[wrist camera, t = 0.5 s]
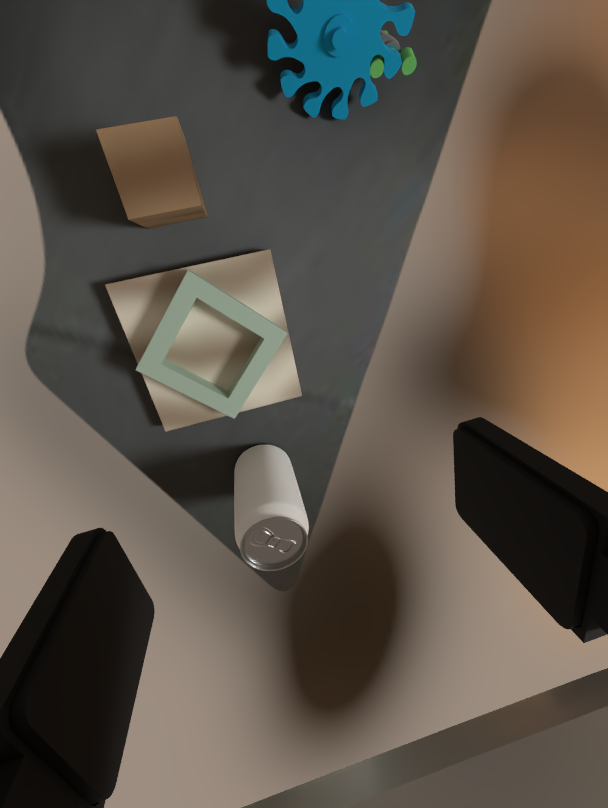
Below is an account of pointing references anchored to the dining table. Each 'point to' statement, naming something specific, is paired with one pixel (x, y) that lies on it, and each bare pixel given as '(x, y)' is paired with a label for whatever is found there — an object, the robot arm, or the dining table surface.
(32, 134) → the dining table surface
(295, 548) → the can
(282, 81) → the gear
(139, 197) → the block
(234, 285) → the board
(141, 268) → the dining table surface
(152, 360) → the pocket
